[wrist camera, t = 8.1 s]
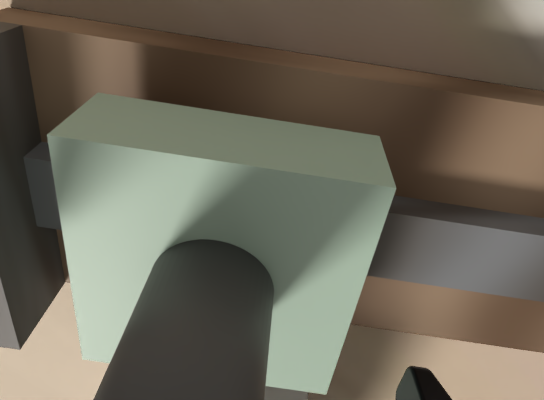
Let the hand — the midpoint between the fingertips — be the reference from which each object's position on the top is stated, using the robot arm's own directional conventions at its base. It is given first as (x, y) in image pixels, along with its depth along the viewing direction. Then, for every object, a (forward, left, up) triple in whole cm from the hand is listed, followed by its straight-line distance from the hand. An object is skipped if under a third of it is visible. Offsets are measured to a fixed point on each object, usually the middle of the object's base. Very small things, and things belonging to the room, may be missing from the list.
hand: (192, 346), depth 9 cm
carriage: (0, 0, -4) cm, 4 cm away
